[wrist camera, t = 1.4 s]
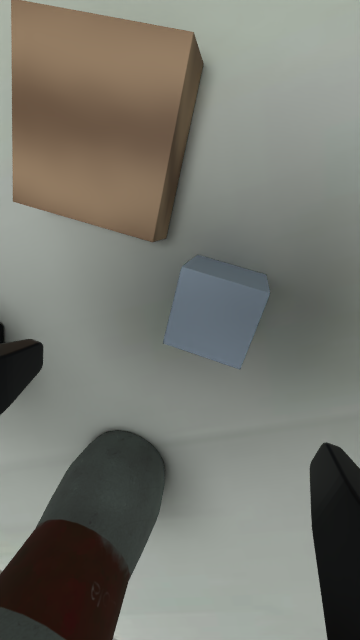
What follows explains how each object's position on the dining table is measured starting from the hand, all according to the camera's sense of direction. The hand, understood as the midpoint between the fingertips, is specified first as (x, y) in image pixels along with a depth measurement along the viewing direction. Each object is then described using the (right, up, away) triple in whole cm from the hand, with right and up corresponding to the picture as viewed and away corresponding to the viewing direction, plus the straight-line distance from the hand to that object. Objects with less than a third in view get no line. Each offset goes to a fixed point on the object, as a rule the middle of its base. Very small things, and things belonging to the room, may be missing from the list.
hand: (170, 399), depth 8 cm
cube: (+3, +4, +12) cm, 13 cm away
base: (-4, +14, +10) cm, 18 cm away
